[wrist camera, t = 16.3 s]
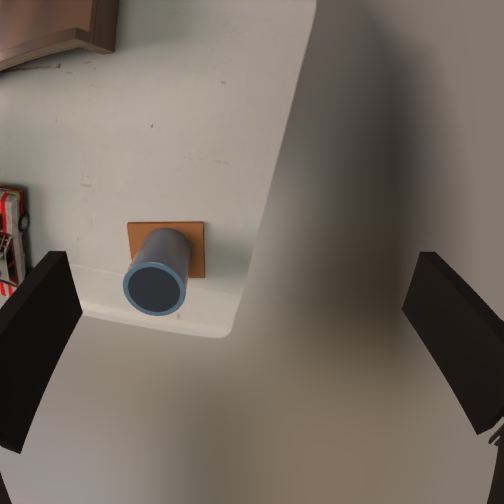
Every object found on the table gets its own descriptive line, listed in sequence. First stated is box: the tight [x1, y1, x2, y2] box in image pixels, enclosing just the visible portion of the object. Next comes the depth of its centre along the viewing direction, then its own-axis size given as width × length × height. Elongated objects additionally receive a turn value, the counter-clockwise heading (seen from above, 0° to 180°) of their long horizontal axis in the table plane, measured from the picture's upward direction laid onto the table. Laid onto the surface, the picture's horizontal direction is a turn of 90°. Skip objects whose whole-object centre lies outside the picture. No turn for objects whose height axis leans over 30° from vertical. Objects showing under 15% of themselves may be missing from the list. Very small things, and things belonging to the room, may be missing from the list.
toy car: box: [0, 186, 32, 297], centre depth 34 cm, size 8×18×8 cm, turn 166°
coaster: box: [127, 222, 205, 278], centre depth 41 cm, size 10×8×1 cm
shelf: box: [0, 0, 119, 71], centre depth 20 cm, size 24×10×11 cm, turn 88°
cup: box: [123, 228, 192, 316], centre depth 37 cm, size 7×7×9 cm
